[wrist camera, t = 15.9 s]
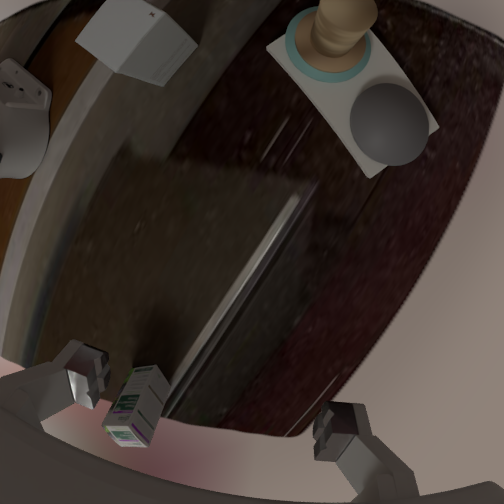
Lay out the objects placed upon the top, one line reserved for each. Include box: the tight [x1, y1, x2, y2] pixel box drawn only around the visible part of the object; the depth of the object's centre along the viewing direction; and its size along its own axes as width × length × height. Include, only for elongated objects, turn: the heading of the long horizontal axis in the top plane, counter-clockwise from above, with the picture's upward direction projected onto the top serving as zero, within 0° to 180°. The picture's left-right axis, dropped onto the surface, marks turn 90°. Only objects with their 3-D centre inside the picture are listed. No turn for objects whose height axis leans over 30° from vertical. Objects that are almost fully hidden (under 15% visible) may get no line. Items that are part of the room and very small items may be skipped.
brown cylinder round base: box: [295, 0, 378, 73], centre depth 24 cm, size 8×8×11 cm
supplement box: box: [75, 0, 198, 87], centre depth 27 cm, size 7×7×13 cm
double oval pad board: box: [266, 6, 439, 178], centre depth 32 cm, size 22×12×3 cm, turn 39°
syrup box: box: [102, 365, 171, 447], centre depth 45 cm, size 6×6×14 cm
